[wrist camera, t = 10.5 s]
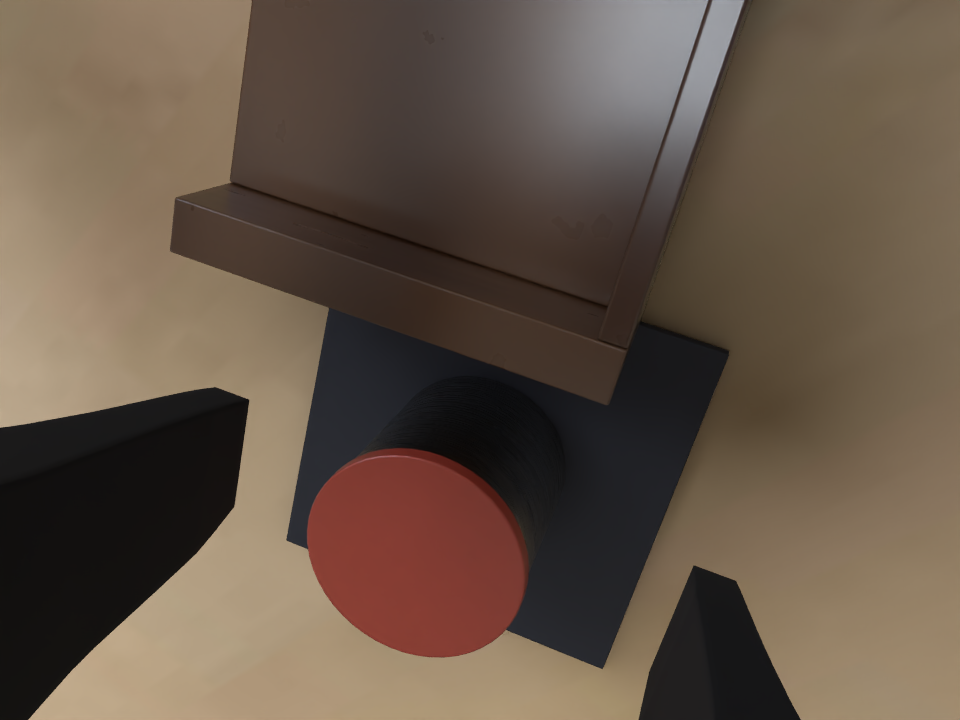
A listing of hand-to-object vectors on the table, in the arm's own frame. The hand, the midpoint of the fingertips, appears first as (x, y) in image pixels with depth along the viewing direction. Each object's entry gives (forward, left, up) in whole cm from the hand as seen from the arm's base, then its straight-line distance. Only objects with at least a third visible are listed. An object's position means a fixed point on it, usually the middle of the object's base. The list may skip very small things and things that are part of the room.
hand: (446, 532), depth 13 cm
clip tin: (+1, +4, -9) cm, 10 cm away
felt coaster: (+1, +4, -9) cm, 10 cm away
